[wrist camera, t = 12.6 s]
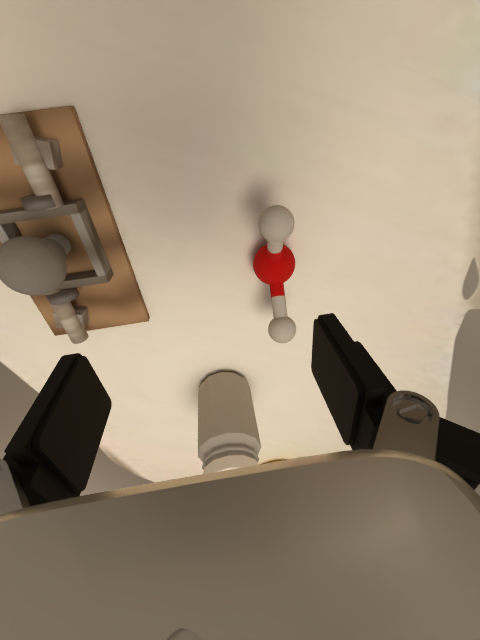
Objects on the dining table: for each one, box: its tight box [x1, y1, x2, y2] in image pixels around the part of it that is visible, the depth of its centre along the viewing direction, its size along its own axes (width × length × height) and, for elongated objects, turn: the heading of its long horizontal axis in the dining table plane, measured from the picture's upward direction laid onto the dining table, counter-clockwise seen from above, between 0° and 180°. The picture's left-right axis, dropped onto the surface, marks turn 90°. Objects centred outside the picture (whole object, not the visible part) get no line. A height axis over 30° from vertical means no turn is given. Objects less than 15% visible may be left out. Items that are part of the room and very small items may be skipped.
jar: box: [198, 372, 261, 474], centre depth 46 cm, size 10×10×18 cm
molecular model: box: [253, 205, 296, 343], centre depth 36 cm, size 18×6×10 cm, turn 14°
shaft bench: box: [0, 106, 150, 344], centre depth 33 cm, size 26×14×5 cm, turn 6°
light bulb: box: [0, 234, 71, 295], centre depth 30 cm, size 6×6×10 cm
